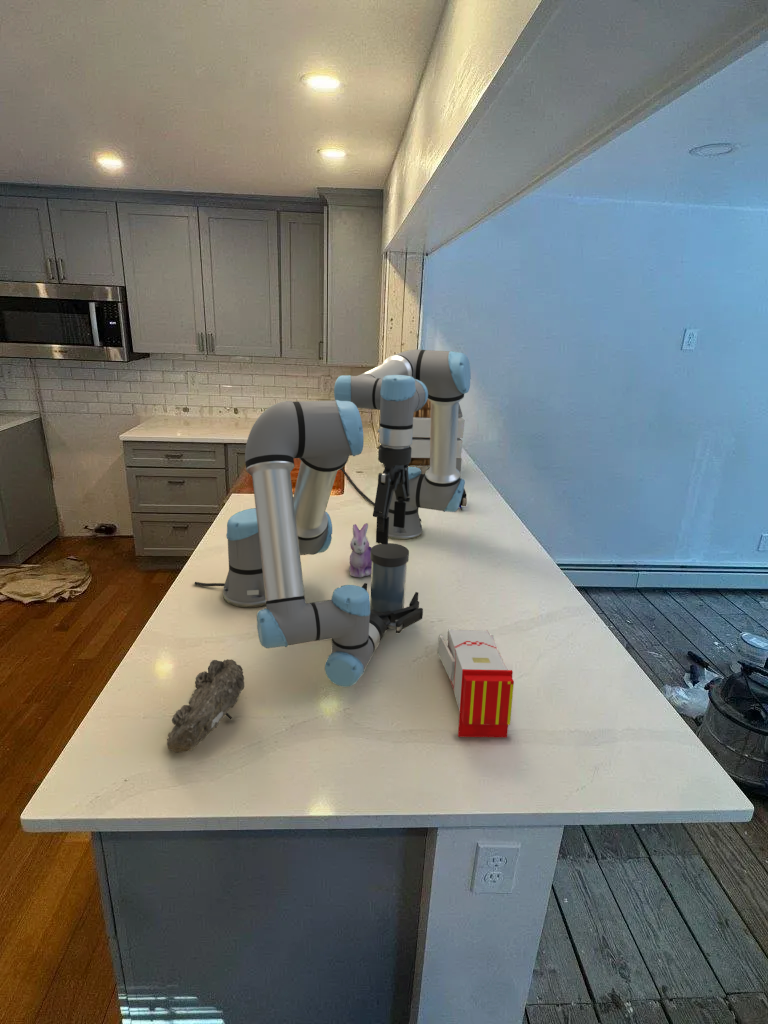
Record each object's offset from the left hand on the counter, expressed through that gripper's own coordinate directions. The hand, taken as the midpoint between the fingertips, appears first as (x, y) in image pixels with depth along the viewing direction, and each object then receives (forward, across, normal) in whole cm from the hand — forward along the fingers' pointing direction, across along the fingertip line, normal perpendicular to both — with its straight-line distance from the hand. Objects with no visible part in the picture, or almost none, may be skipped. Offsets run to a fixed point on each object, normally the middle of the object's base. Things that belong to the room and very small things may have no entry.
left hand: (391, 592), depth 145 cm
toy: (-25, +25, -6) cm, 36 cm away
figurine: (+21, -15, -6) cm, 26 cm away
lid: (-3, 0, +13) cm, 13 cm away
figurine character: (+92, +2, -6) cm, 93 cm away
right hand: (-3, 0, +17) cm, 17 cm away
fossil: (-49, -21, -6) cm, 54 cm away
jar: (-3, 0, -6) cm, 7 cm away
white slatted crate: (+134, -24, -6) cm, 136 cm away
